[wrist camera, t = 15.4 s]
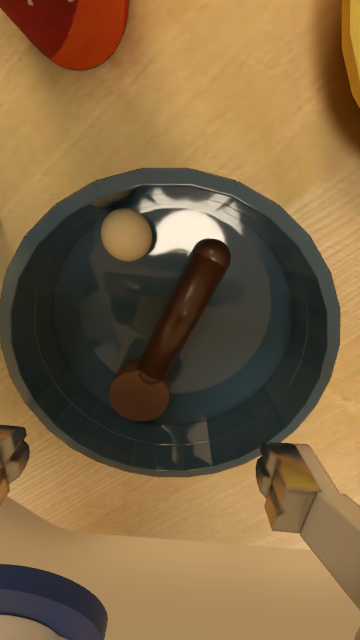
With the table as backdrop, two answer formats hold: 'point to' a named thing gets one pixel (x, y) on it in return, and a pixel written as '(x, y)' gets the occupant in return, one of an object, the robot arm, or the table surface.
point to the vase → (352, 44)
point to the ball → (126, 234)
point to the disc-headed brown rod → (169, 336)
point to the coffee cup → (71, 28)
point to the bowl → (146, 310)
